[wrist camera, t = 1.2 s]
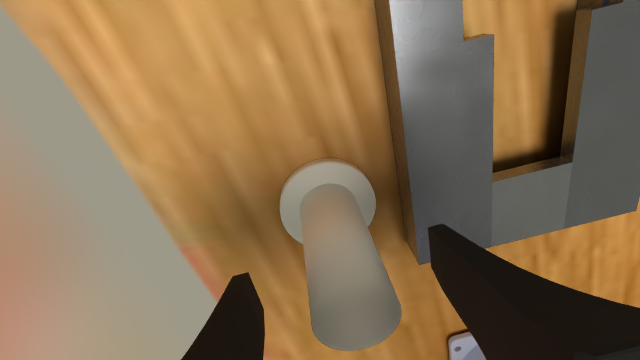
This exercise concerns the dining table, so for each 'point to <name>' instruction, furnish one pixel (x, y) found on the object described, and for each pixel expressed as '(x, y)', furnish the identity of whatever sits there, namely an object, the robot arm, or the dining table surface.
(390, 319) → the peg
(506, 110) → the dining table surface
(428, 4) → the keyhole plate
